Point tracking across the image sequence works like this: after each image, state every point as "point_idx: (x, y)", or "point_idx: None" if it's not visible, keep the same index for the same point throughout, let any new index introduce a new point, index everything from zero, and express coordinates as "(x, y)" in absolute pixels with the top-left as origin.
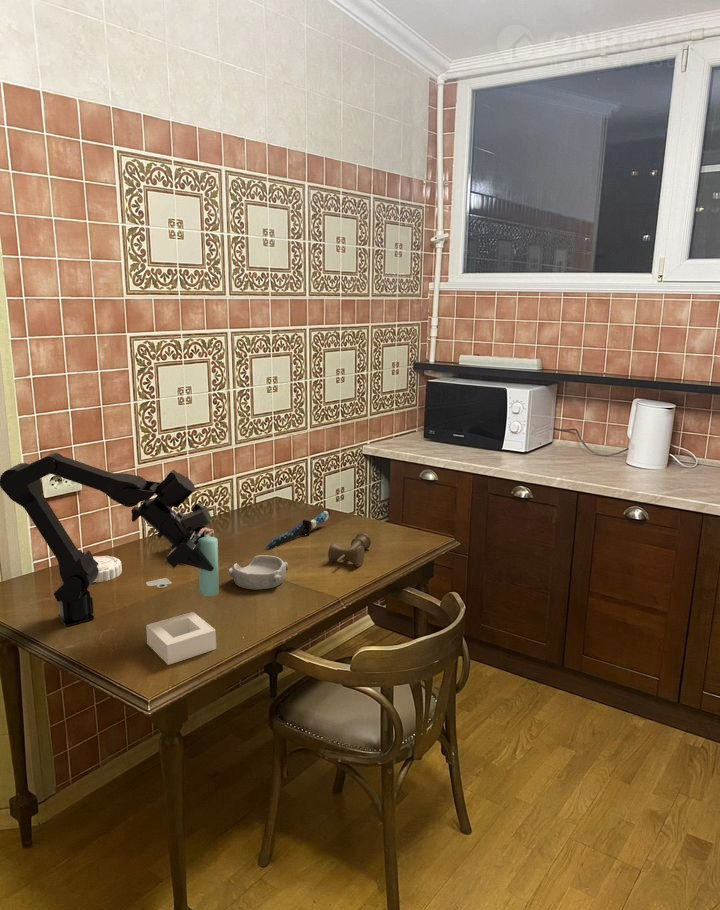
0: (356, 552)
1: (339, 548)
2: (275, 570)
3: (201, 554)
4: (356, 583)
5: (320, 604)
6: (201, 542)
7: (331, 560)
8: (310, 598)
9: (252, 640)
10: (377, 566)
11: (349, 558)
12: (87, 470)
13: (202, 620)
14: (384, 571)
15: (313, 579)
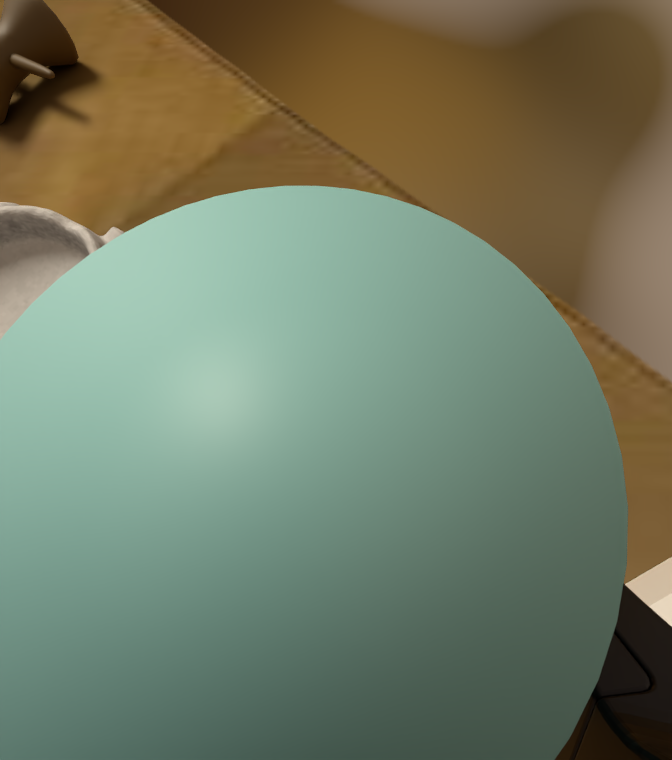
0: (42, 5)
1: None
2: (17, 262)
3: (659, 665)
4: (188, 68)
5: (315, 152)
6: (518, 719)
7: (4, 111)
8: (260, 178)
9: (606, 370)
10: (93, 25)
11: (37, 54)
12: None
13: (660, 610)
14: (133, 12)
15: (111, 169)
